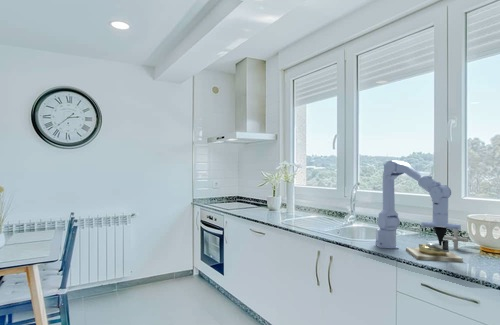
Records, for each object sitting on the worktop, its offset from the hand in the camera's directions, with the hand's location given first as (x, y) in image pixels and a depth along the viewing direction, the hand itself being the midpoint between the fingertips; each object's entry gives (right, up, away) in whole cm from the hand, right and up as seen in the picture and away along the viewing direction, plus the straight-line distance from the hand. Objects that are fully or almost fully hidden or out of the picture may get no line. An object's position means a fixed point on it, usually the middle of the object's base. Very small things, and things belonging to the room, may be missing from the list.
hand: (440, 245), depth 135 cm
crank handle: (+2, -5, +6) cm, 8 cm away
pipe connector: (+21, -8, +21) cm, 31 cm away
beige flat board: (+2, -7, +9) cm, 11 cm away
